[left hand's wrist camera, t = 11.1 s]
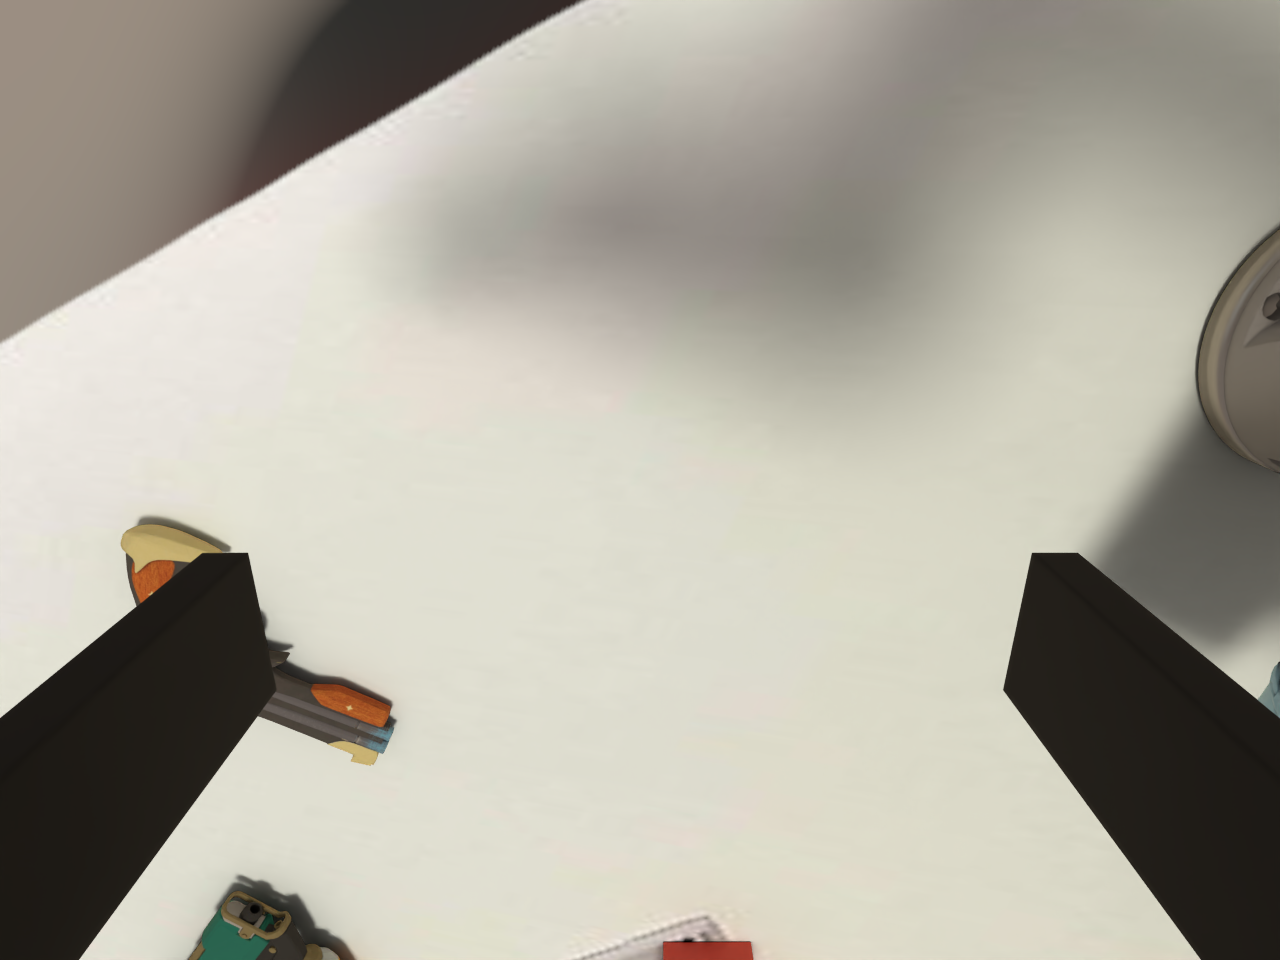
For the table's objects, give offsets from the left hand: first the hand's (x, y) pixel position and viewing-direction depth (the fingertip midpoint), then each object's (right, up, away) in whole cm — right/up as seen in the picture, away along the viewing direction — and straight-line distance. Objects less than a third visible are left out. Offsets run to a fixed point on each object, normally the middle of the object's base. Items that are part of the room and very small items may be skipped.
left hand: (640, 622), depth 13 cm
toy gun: (-23, -8, +34) cm, 42 cm away
